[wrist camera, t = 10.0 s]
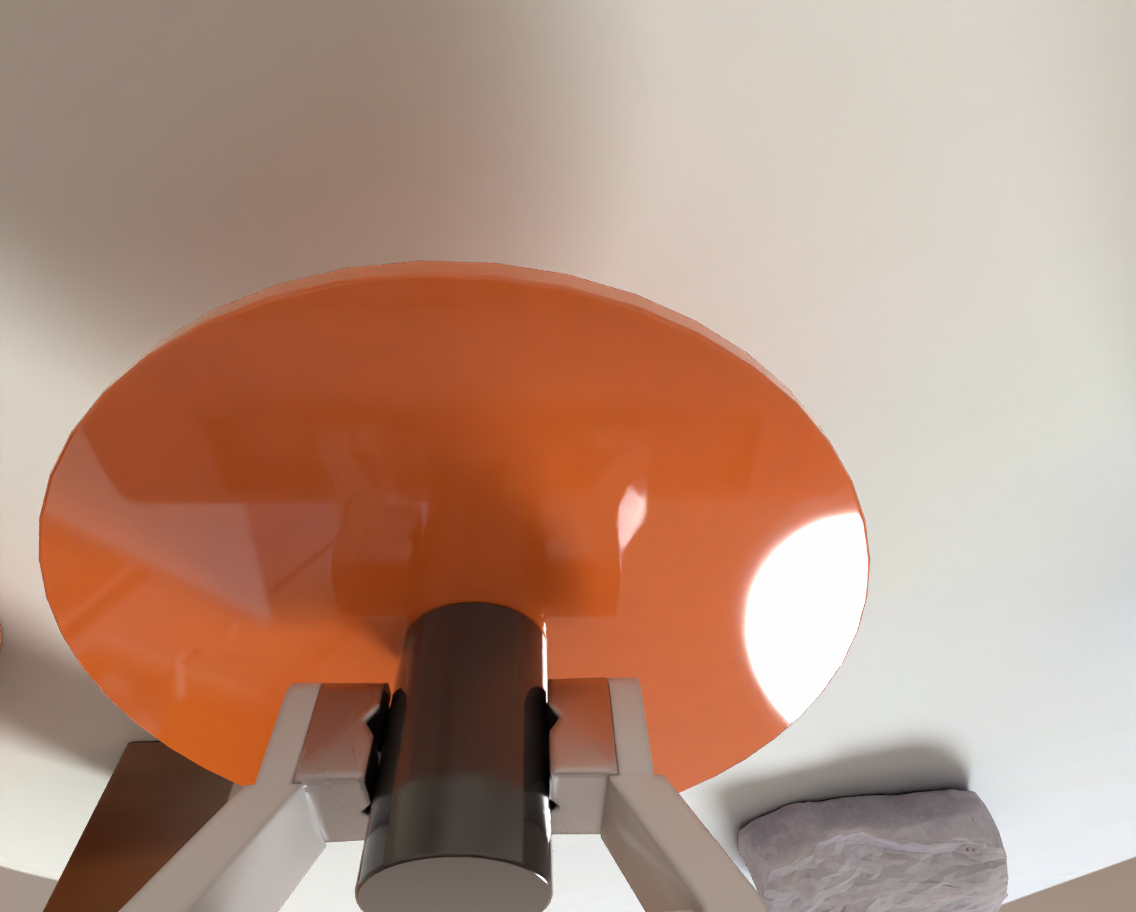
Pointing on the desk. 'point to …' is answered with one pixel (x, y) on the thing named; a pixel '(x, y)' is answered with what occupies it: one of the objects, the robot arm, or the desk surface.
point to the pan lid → (454, 545)
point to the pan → (0, 637)
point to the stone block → (879, 855)
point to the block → (138, 827)
